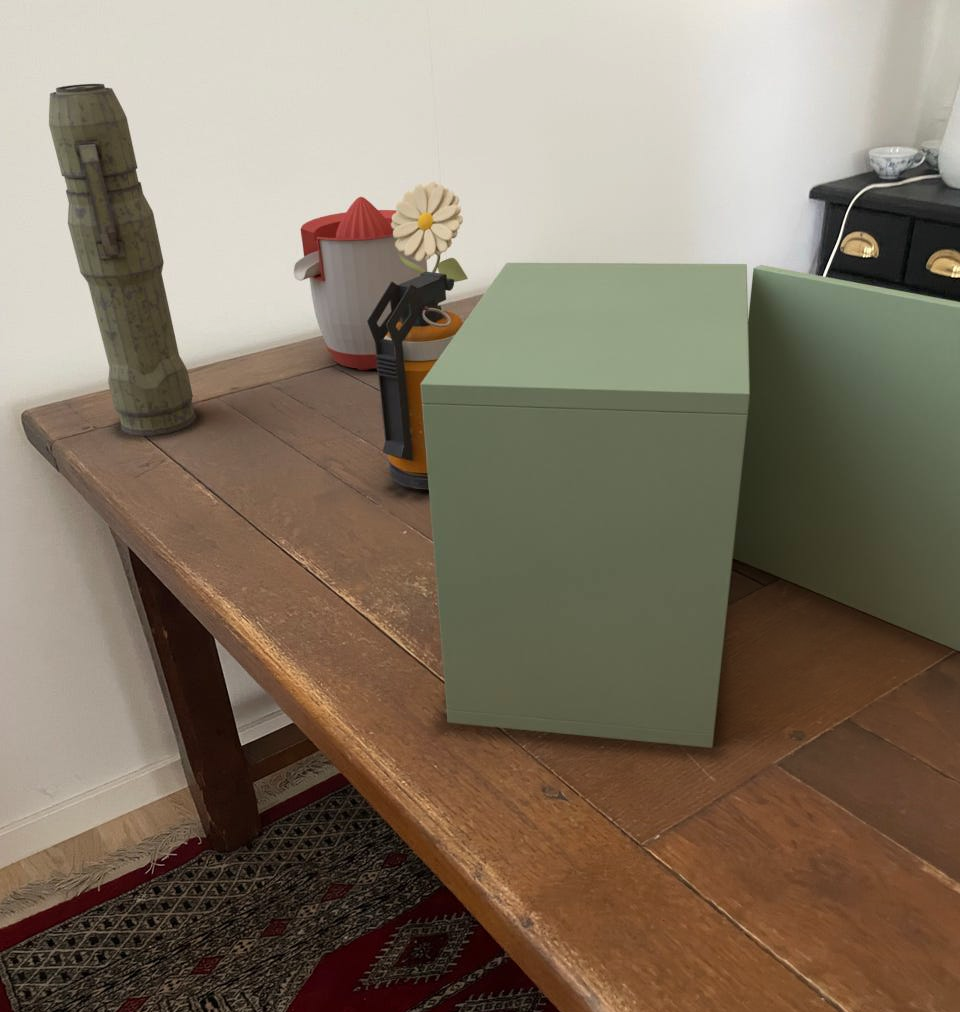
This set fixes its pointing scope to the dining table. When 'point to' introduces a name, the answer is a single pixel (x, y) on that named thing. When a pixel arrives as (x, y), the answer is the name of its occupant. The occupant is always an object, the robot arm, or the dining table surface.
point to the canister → (410, 366)
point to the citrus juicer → (351, 277)
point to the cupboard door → (855, 447)
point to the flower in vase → (428, 227)
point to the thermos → (120, 259)
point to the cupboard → (589, 497)
